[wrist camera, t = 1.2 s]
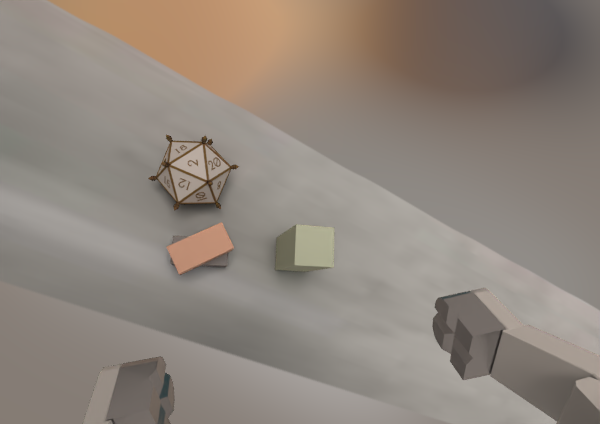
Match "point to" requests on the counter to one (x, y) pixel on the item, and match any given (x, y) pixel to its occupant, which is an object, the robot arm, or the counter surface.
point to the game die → (193, 172)
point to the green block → (305, 249)
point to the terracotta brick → (200, 248)
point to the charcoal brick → (216, 262)
